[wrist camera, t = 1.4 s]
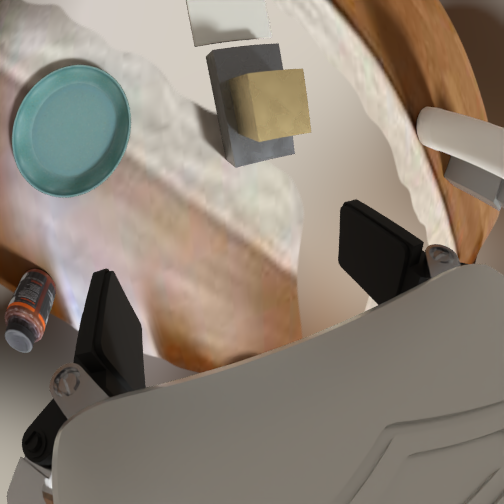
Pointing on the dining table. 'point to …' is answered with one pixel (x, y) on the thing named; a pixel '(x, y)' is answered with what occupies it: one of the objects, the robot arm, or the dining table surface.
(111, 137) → the saucer
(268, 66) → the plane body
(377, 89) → the dining table surface
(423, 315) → the robot arm
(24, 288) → the supplement bottle
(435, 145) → the bottle
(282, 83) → the gold block
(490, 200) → the perfume bottle
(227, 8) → the mat
